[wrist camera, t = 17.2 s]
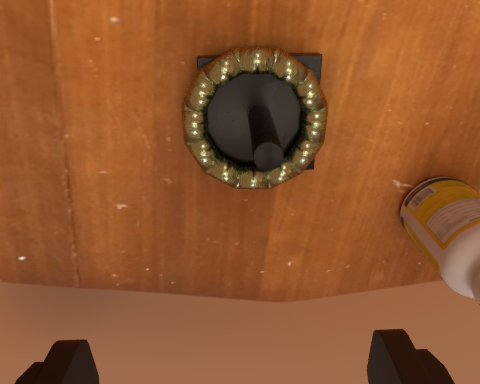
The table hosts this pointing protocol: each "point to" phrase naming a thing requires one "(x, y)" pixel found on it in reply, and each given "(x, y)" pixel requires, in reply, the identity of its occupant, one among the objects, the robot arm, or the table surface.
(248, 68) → the ring
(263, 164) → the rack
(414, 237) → the pill bottle
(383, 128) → the table surface
